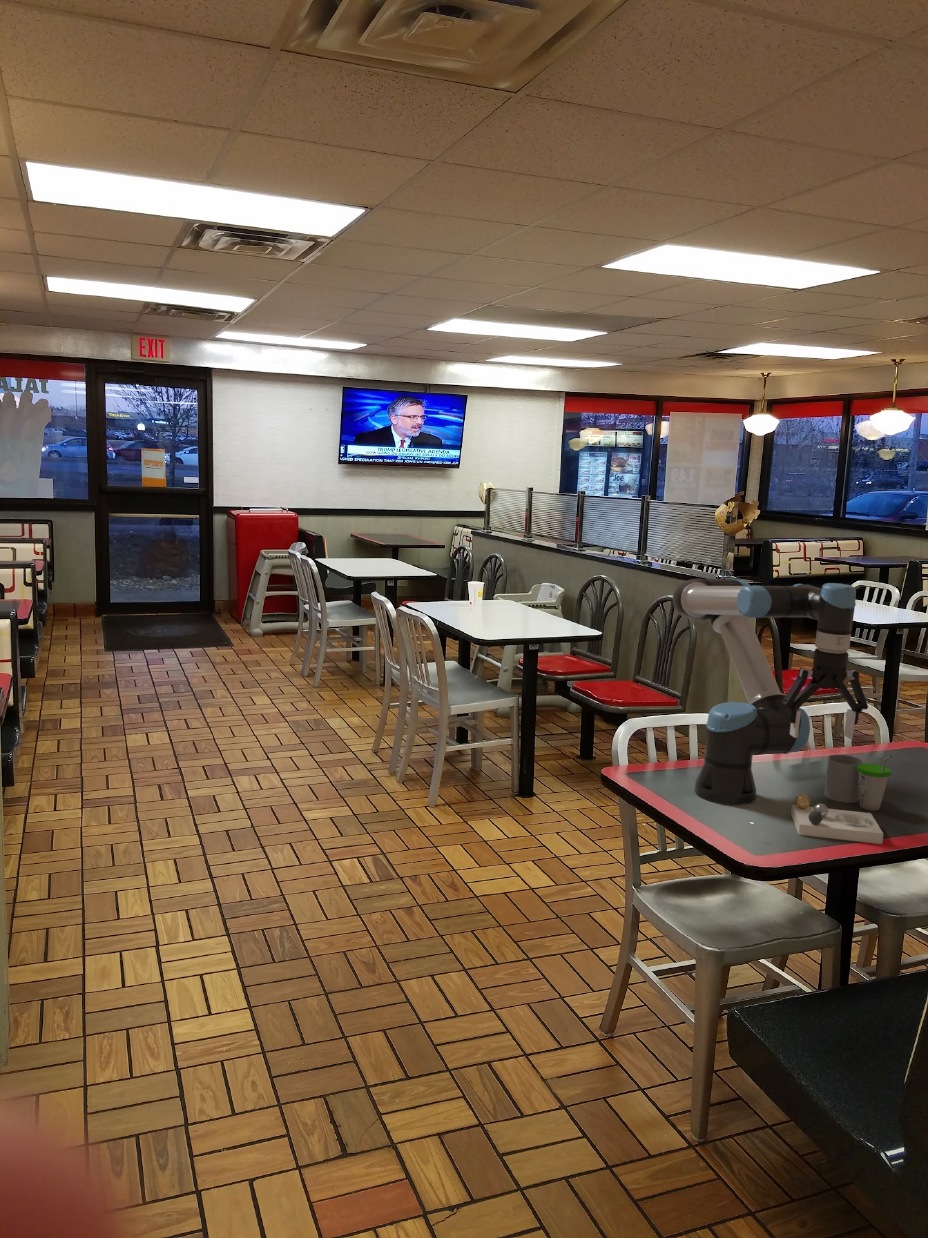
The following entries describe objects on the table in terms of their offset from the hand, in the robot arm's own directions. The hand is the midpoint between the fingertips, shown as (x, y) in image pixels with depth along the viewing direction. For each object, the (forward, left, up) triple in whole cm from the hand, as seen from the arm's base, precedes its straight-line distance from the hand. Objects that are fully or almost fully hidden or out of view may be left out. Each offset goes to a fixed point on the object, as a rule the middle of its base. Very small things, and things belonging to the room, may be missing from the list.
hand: (820, 736), depth 222 cm
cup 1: (+10, +18, -20) cm, 29 cm away
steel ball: (+1, -7, -16) cm, 17 cm away
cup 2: (+15, +11, -20) cm, 28 cm away
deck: (+4, -7, -20) cm, 22 cm away
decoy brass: (-3, -2, -16) cm, 16 cm away
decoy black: (-1, -12, -16) cm, 20 cm away
